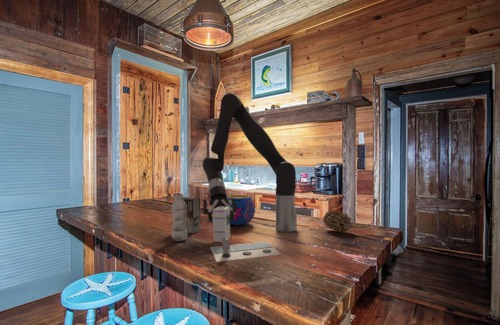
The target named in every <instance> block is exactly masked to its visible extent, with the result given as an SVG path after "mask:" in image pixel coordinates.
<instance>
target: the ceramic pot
mask: <svg viewBox="0 0 500 325" xmlns="http://www.w3.org/2000/svg"><path fill="white" fill-rule="evenodd" d="M227 199H228V200H232V199H234V200H235V203H236V207H237V210H236V212H235V213H233V214H234V219H233V220H232V221H230V225H234V226H244V225H247V224H249V223H250V222H252V220H253V219H254V216H255V213H256V206H255V202H254V201H253V199H252V197H250V196H249V195H246V194H234V195H229V196H227ZM228 205H230V207H231V208H232V205H231V204H230V203H228ZM232 209H233V208H232Z"/></svg>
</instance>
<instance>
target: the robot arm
mask: <svg viewBox="0 0 500 325" xmlns="http://www.w3.org/2000/svg"><path fill="white" fill-rule="evenodd" d="M233 119H234V120H235V121H236V123H238V125H239V126H240V128H241V131H242V133H243V134H244V136H245V137H246V139H247V141H248V142H250V144H251V145H252V146H253V148H254V149H255V150H256V151H257V153H258V154H259V155H260V156H262V157H263V158H264V160H266V162H267V163H268V165H269V166H270V167H271V169H272V171H273V172H274V174H275V177H276V180H275V181H276V182H275V183H276V187H275V230H276V231H277V232H280V233H292V232H295V231H297V230H298V228H297V226H298V224H297V223H298V222H297V218H298V217H297V213H298V212H297V210H296V200H295V199H296V197H295V196H296V192H295V191H296V188H297V187H296V180H297V178H296V176H297V173H296V172H297V171H296V167H295V166H294V164H292V163H291V162H290V161H289V162H288V161H287V160H286V159H285V158H284V157H283V155H281V153H280V152H279V150H278V149H277V147H276V146H275V144H274V142H273V140H272V138H271V136H269V134H268V133H267V131H266V130H265V129H264V128H263V127H262V126H261V124H260V123H259V122H258V121H257V120H256V119H255V118H254V117H253V116H252V115H251V114H250V113H249V111H248V110H247V108H246V107H245V105H244V104H243V102H242V100H241V98H239V96H238V95H236V94H235V93H233V92H229V93H225V94H224V95H223V96H222V98H221V101H220V107H219V116H218V122H217V126H216V129H215V133H214V136H213V140H212V143H211V147H210V151H211V153H213V154H214V155H217V158H216V157H212V156H207V157H205V158H204V159H203V161H202V168H203V171H204V173H205V175H206V177H207V181H208V182H207V183H208V194H209V200H206V199H203V203H202V210H203V215H207V218H208V221H209V222H210V223H211V224H213V209H215V208H217V207H230V205H228V203H230V204H231V205H232V208H233V209H232V208H231V207H230V221H232V220H233V219H234V214H233V213H235V212H236V210H237V207H236V203H235V200H234V199H232V200H228V199H227V197H228V196H227V192H226V191H227V190H226V187H225V186H226V185H225V182H224V177H223V173H222V171H223V170H224V167H225V153H226V147H227V145H228V141H229V135H230V129H231V124H232V121H233ZM209 205H210V208H209V209H207V208H208V206H209Z"/></svg>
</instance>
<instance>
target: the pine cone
mask: <svg viewBox="0 0 500 325" xmlns="http://www.w3.org/2000/svg"><path fill="white" fill-rule="evenodd" d="M322 218H323V221H322V222H323V223H324V225H325V226H326V227H328V228H329V230H332V231H335V232H340V233H342V232H343V233H345V234H346V233H347V232H348V231H349V230H351V229H352V228H353V229H360V228H361V229H367V228H368V229H369V228H370V226H371V223H367V224H358V225H357V224H354V223H352V218H351V216H348V214H347V213H344V212H341V211H340V210H333V209H332V210H329V211H326V213H324V215H323V217H322Z"/></svg>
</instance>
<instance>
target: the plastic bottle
mask: <svg viewBox="0 0 500 325" xmlns="http://www.w3.org/2000/svg"><path fill="white" fill-rule="evenodd" d="M184 197H185V196H184V193H175V194H174V200H173V203H171V214H172V232H171V239H172V241H173V242H178V243H179V242H184V241H186V240H187V238H188V235H189V233H187V229H186V211H187V205H186V203H185V201H184V200H183V198H184Z"/></svg>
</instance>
